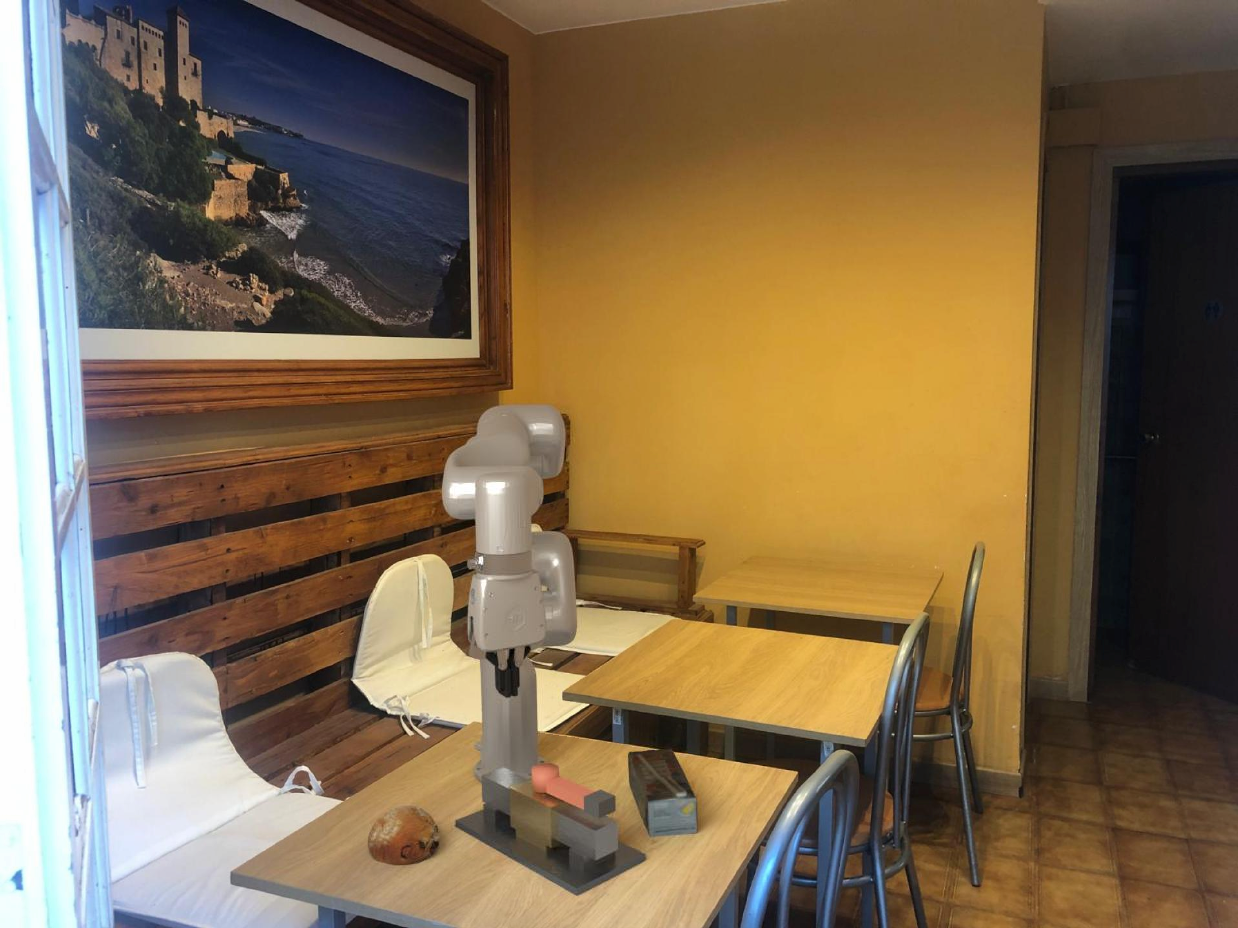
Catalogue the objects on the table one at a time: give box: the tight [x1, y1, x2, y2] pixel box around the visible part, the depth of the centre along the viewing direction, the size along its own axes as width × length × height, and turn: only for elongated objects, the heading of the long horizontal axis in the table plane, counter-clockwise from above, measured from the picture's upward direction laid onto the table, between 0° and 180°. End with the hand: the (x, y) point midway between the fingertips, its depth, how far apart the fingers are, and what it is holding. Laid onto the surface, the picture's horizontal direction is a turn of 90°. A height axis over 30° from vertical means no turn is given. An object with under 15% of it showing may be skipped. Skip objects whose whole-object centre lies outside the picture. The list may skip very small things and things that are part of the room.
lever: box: [532, 762, 617, 819], centre depth 141 cm, size 15×4×3 cm, turn 45°
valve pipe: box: [454, 768, 646, 896], centre depth 145 cm, size 28×13×8 cm, turn 44°
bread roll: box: [367, 805, 442, 866], centre depth 144 cm, size 10×10×8 cm
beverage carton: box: [627, 747, 698, 838], centre depth 157 cm, size 8×19×7 cm, turn 8°
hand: (507, 693), depth 136 cm, fingers closed
